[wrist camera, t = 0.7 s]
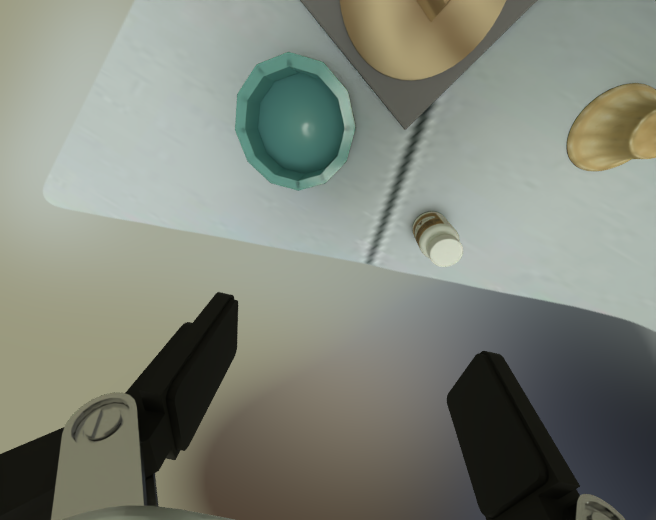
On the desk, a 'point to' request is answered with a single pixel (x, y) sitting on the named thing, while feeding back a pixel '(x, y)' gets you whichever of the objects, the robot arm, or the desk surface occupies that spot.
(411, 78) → the lid
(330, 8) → the mat
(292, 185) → the bowl
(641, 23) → the desk surface
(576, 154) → the hand bell
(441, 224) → the pill bottle
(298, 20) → the desk surface
